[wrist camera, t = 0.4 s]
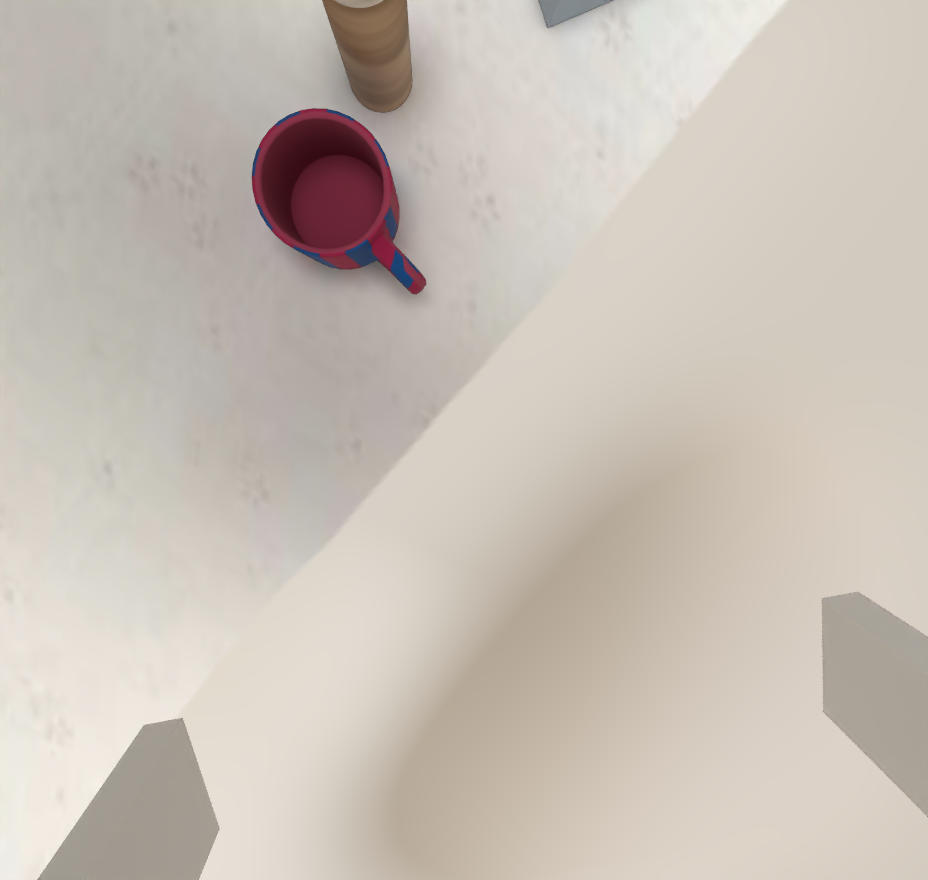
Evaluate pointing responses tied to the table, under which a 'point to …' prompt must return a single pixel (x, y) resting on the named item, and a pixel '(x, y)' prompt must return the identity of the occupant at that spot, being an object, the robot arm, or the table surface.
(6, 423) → the table surface
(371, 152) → the cup
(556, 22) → the socket block
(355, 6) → the dowel
